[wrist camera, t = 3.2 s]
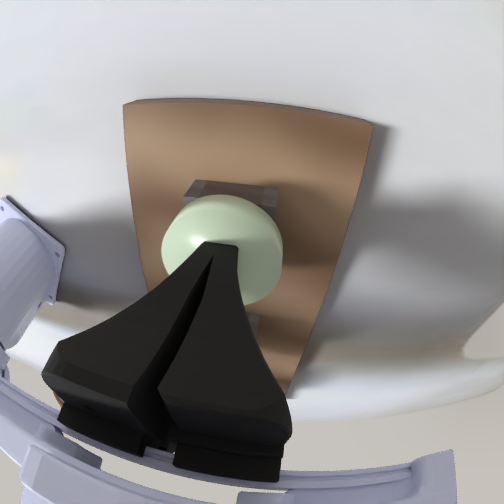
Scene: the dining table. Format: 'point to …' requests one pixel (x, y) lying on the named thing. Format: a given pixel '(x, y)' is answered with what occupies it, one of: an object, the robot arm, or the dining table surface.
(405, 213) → the dining table surface
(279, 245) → the sage button
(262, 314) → the button board
